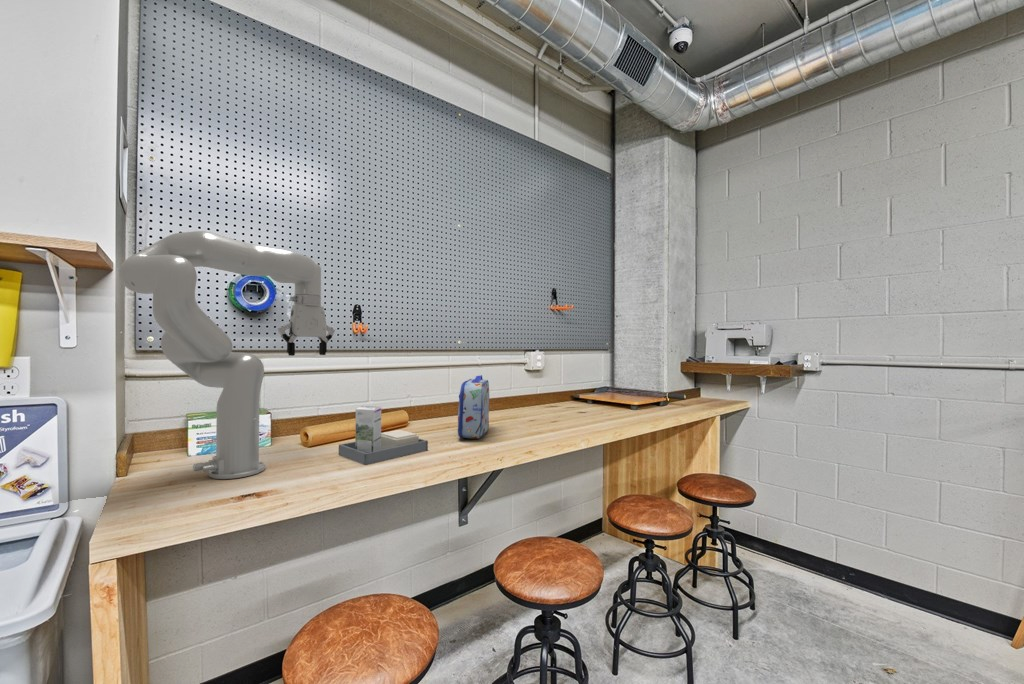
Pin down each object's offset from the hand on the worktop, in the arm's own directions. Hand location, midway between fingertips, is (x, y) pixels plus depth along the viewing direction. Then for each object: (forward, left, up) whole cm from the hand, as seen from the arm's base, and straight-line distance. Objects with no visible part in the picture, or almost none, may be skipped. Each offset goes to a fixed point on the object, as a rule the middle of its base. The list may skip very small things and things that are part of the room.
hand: (307, 355), depth 135 cm
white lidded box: (+18, -24, -29) cm, 42 cm away
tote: (+13, -24, -30) cm, 41 cm away
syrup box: (+8, -24, -30) cm, 39 cm away
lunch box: (+53, -22, -31) cm, 65 cm away
